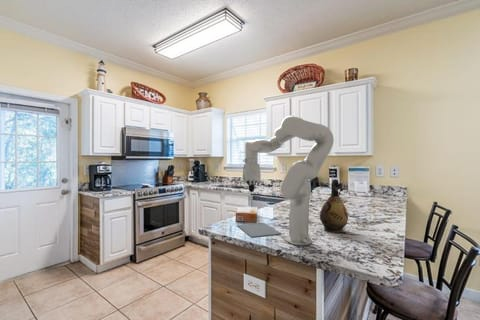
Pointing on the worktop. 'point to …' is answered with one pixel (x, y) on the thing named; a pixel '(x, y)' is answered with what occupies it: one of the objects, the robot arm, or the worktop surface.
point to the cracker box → (246, 214)
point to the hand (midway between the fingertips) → (251, 191)
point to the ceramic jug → (334, 211)
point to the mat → (258, 230)
